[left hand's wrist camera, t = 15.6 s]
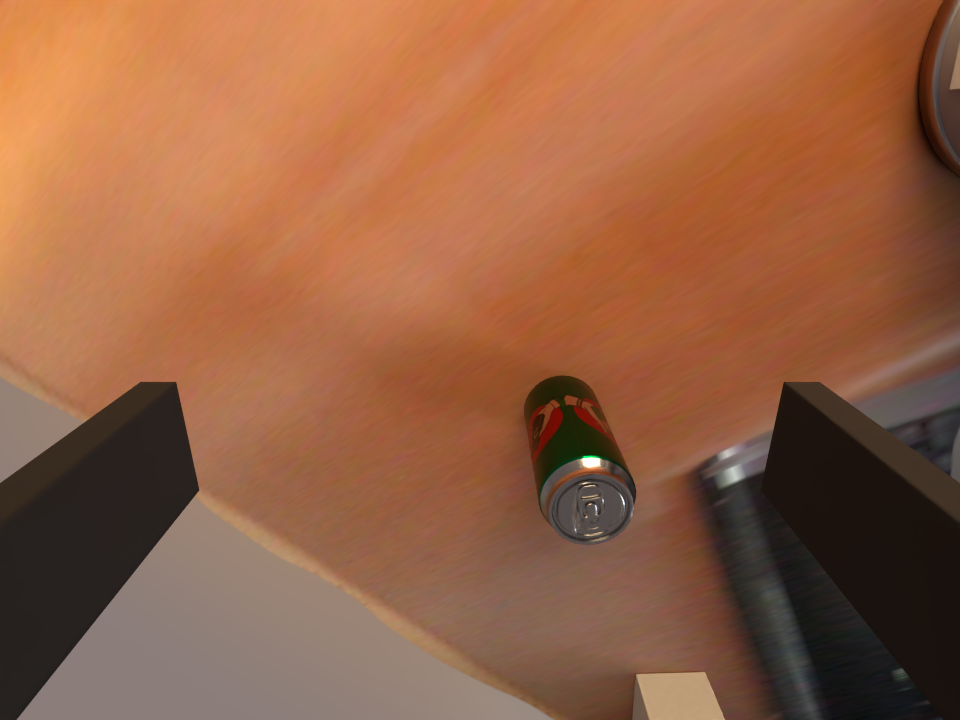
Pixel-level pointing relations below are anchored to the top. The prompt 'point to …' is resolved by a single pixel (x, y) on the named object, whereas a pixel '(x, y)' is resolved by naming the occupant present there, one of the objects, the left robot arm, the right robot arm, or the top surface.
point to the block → (675, 697)
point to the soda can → (577, 462)
